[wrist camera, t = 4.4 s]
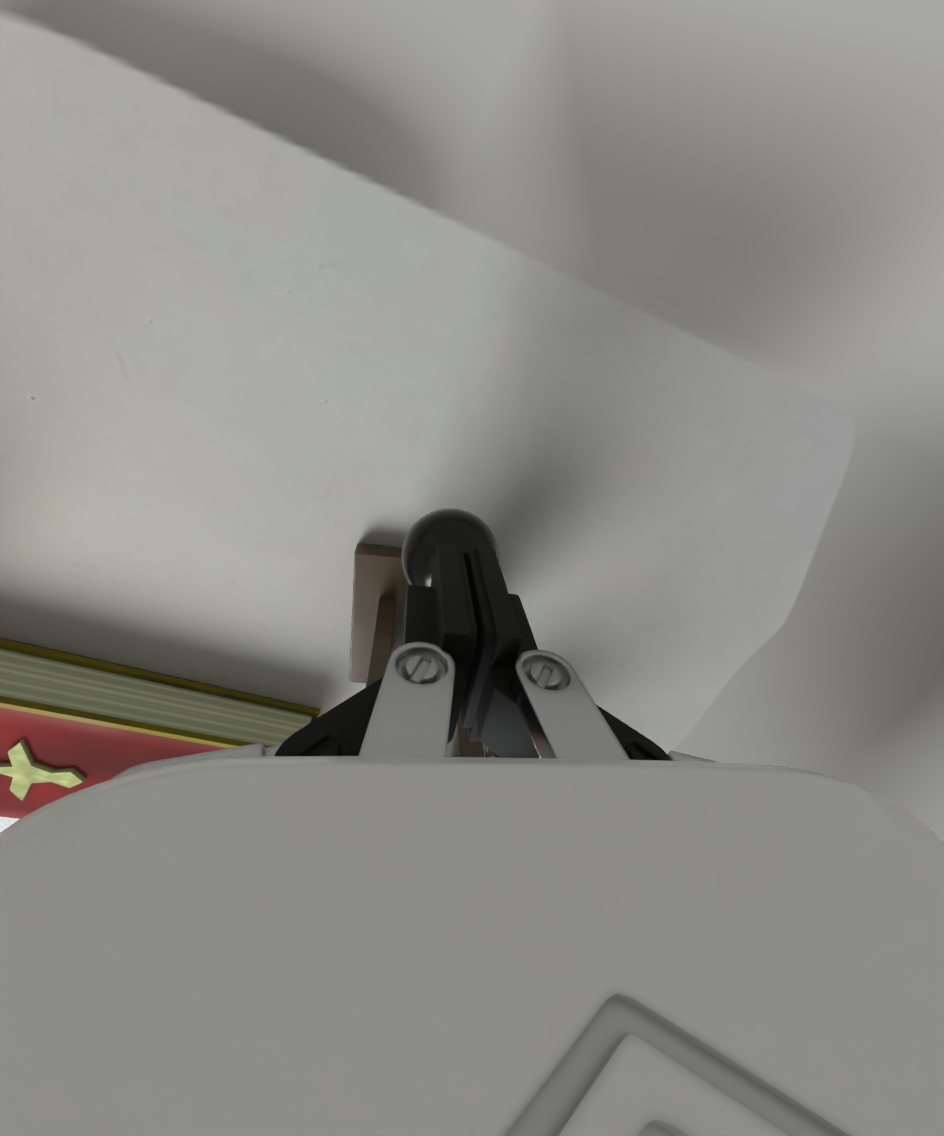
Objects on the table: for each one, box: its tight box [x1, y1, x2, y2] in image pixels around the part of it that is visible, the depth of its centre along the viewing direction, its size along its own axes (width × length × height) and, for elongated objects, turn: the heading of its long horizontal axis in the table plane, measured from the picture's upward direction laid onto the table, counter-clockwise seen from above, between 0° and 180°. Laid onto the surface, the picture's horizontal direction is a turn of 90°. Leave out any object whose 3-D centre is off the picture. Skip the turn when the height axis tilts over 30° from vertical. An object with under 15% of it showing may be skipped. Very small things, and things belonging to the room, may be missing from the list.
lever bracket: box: [349, 543, 486, 757], centre depth 21 cm, size 10×8×12 cm
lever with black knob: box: [401, 509, 499, 757], centre depth 15 cm, size 13×3×3 cm, turn 170°
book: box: [0, 638, 320, 819], centre depth 27 cm, size 12×21×4 cm, turn 63°
